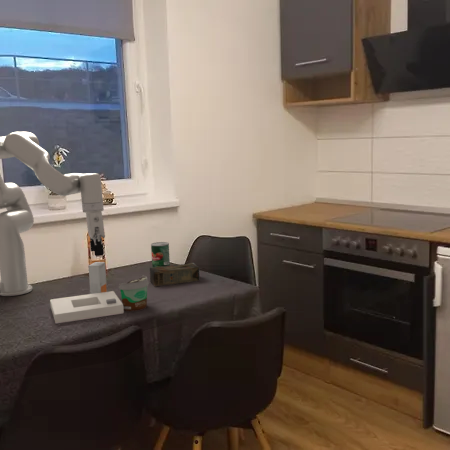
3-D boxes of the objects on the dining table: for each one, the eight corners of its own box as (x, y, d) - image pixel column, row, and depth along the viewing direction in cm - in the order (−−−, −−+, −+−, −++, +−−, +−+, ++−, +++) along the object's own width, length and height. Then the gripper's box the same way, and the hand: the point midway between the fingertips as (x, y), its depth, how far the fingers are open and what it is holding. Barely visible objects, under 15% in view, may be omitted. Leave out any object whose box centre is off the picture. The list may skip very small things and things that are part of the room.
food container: (134, 314, 182) (132, 285, 181) (120, 312, 185) (118, 283, 184) (157, 304, 192) (156, 276, 191) (144, 302, 196) (142, 274, 194)
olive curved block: (200, 281, 222) (200, 265, 220) (154, 287, 214) (153, 271, 213) (194, 276, 229) (193, 261, 228) (149, 282, 222) (148, 267, 221)
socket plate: (55, 323, 176) (54, 311, 175) (50, 307, 193) (49, 296, 192) (123, 313, 184) (123, 301, 183) (113, 298, 201) (112, 288, 200)
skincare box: (100, 297, 203) (98, 265, 201) (90, 297, 204) (87, 265, 202) (107, 292, 209) (105, 261, 207) (97, 292, 210) (94, 261, 208)
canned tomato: (149, 270, 241) (148, 245, 240) (155, 265, 249) (153, 241, 247) (167, 270, 240) (166, 245, 238) (172, 265, 248) (170, 241, 246)
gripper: (107, 208, 194) (111, 256, 197) (99, 204, 210) (103, 247, 213) (85, 210, 192) (90, 258, 194) (79, 205, 207) (83, 250, 210)
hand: (97, 253), depth 204 cm, fingers open, 9 cm apart
